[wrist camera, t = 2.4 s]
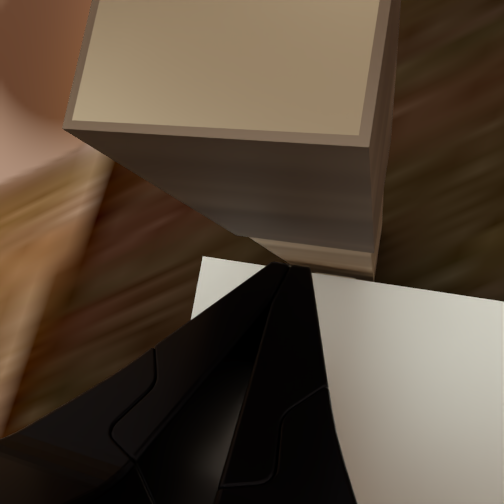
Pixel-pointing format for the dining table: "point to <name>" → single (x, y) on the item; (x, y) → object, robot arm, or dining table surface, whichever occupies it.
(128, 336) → the dining table surface
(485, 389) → the cream rectangular box
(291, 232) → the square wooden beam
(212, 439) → the robot arm
